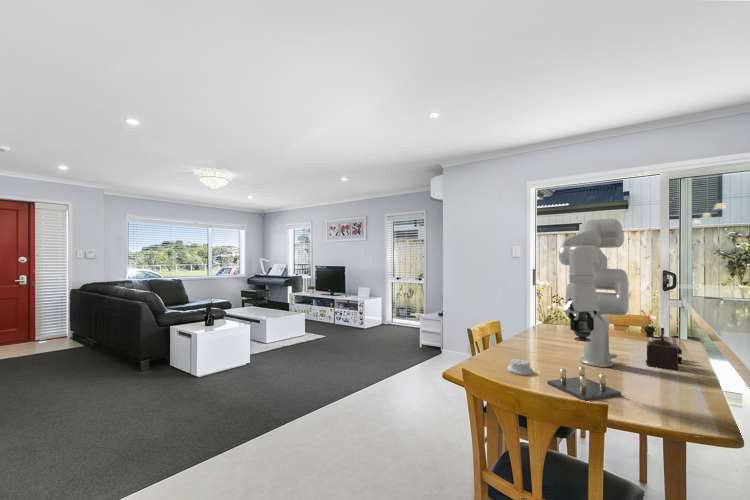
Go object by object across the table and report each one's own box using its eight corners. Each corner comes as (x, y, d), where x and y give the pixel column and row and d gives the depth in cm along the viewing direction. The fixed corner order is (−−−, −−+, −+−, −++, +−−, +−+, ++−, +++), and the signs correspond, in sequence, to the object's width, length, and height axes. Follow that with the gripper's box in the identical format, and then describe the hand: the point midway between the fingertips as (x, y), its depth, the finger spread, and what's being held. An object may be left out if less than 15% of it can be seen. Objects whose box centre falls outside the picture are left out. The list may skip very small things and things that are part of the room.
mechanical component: (509, 375, 142) (535, 376, 140) (509, 364, 142) (535, 365, 140) (505, 367, 152) (530, 369, 150) (505, 357, 152) (529, 358, 150)
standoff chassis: (581, 379, 136) (581, 363, 136) (620, 395, 121) (620, 377, 121) (547, 384, 132) (547, 367, 132) (583, 400, 116) (583, 381, 116)
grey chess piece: (589, 338, 128) (589, 305, 129) (593, 342, 123) (593, 307, 123) (571, 337, 130) (570, 304, 130) (574, 341, 125) (574, 307, 125)
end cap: (658, 356, 167) (658, 342, 168) (678, 358, 164) (677, 344, 164) (661, 362, 159) (661, 347, 159) (682, 364, 155) (681, 349, 155)
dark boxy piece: (646, 360, 161) (646, 321, 161) (678, 365, 154) (677, 324, 154) (643, 368, 150) (642, 326, 150) (677, 374, 142) (676, 329, 142)
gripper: (591, 278, 133) (591, 326, 133) (553, 279, 128) (554, 329, 128) (609, 280, 126) (610, 330, 125) (570, 281, 121) (571, 334, 121)
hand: (582, 329), depth 127 cm, fingers closed on grey chess piece, 5 cm apart
